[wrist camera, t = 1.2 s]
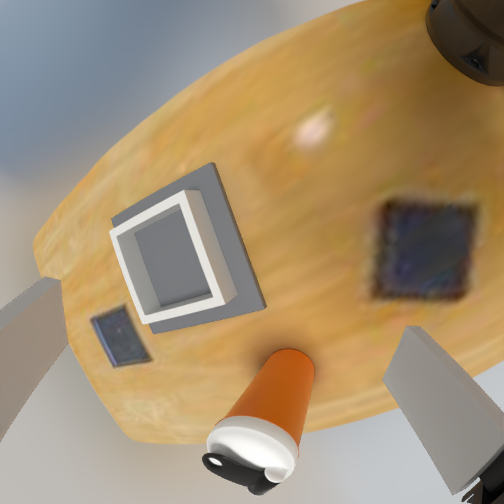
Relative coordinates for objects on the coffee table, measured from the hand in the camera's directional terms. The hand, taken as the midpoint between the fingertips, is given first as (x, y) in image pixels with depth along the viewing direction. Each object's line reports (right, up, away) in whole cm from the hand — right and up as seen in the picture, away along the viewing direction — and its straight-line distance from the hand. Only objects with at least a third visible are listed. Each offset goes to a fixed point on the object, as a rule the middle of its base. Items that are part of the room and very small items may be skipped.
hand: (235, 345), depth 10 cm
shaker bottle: (+6, -13, +29) cm, 32 cm away
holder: (-10, +2, +31) cm, 33 cm away
